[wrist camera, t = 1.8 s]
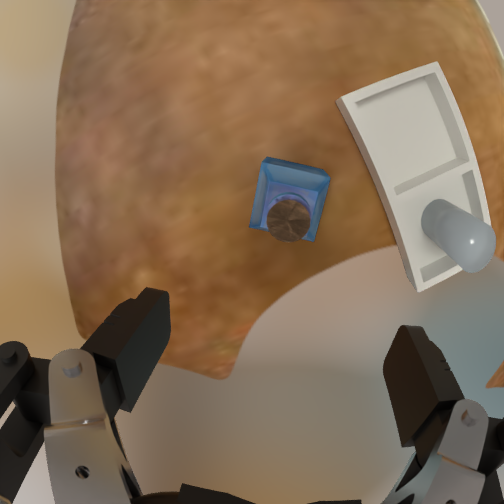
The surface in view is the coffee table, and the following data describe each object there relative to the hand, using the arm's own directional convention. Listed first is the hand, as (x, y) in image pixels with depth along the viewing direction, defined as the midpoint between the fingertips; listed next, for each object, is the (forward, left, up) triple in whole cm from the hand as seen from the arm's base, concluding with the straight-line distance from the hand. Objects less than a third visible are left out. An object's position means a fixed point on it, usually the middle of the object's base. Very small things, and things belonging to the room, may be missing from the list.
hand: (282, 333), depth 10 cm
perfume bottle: (0, 0, -25) cm, 25 cm away
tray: (-5, +15, -25) cm, 29 cm away
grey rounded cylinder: (0, +18, -23) cm, 30 cm away
